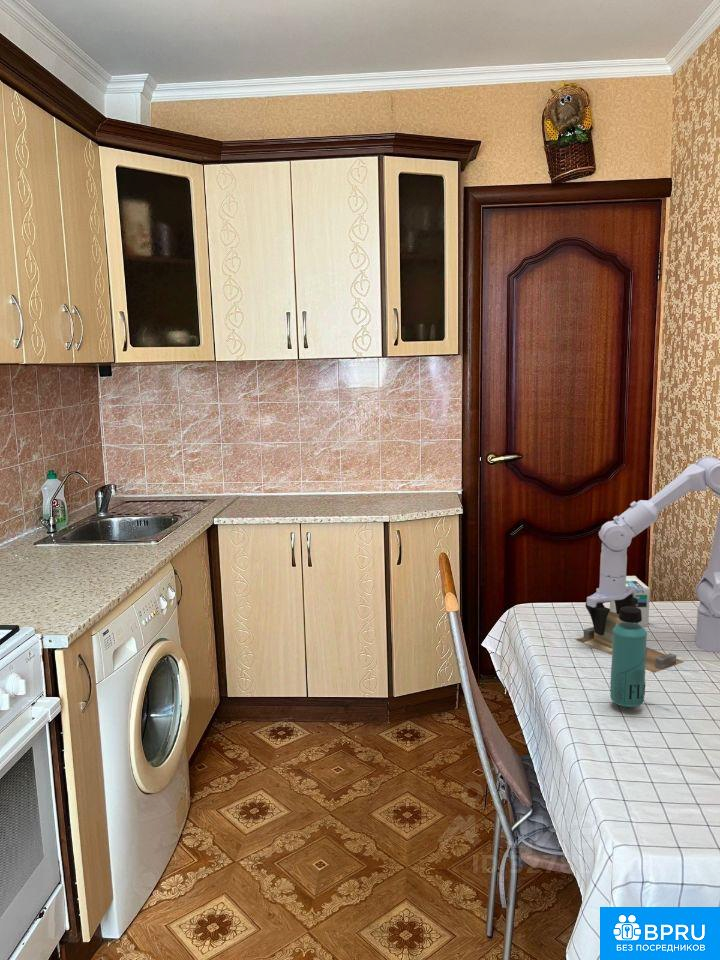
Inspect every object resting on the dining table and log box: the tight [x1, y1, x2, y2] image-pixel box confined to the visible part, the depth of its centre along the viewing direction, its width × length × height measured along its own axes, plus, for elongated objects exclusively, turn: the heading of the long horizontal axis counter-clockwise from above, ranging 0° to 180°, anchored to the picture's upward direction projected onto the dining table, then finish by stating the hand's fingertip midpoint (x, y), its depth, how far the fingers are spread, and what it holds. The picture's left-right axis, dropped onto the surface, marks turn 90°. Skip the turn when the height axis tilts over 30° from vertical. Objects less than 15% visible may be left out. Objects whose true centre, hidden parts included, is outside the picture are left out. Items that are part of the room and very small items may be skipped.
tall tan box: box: [594, 611, 624, 647], centre depth 177 cm, size 3×7×7 cm, turn 31°
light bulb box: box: [609, 575, 651, 628], centre depth 191 cm, size 11×7×11 cm, turn 179°
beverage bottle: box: [609, 606, 648, 708], centre depth 146 cm, size 6×7×20 cm
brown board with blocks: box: [575, 626, 685, 674], centre depth 173 cm, size 10×22×3 cm, turn 32°
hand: (610, 630), depth 177 cm, fingers open, 7 cm apart
